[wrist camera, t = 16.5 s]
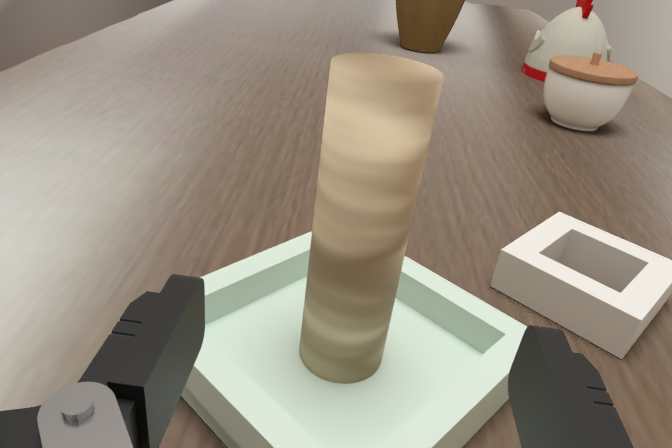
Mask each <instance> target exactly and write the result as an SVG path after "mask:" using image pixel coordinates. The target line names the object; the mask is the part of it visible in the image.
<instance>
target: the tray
mask: <svg viewBox="0 0 672 448" xmlns="http://www.w3.org/2000/svg"><path fill="white" fill-rule="evenodd" d="M311 237H312V231H311V232H309V233H307V234H304V235H302V236H299V237H297V238H294V239H292V240H290V241H287V242H285V243H282V244H280V245H277V246H275V247H273V248H270V249H268V250H265V251H263V252H260V253H258V254H256V255H253V256H251V257H248V258H246V259H244V260H241V261H239V262H236V263H234V264H231V265H229V266H227V267H224V268H222V269H219V270H217V271H214V272H212V273H210V274H207V275H205V276H202V277H200V278H203V280H204V286H205V333H204V339H203V343H202V347H201V350H200V352H199V354H198V357H197V359H196V361H195V364H194V366H193V368H192V371H191V373H190V375H189V378H188V380H187V382H186V385H185V387H184V389H183V392H182V394H181V396H182V397H183V398H184V400H185V401H186V402H187V403H188V404H189V405H190V406H191V407H192V408H193V410H194V411H195V412H196V413H197V414H198V415H199V416H200V417H201V418H202V419H203V421H204V422H205V423H206V424H207V425H208V426H209V427H210V428H211V429H212V431H213V432H214V433H215V434H216V435H217V436H218V437H219V438H220V439H221V441H222V442H223V443H224V444H225V445H226V446H227V447H228V448H462V447H463V446H464V445H465V444H466V443H467V442H468V441H469V440H470V439H471V438H472V437H473V436H474V435H475V434H476V432H477V431H478V430H479V429H480V428H481V427H482V426H483V425H484V424H485V423H486V422H487V421H488V420H489V419H490V418H491V417H492V416H493V415H494V414H495V413H496V412H497V411H498V410H499V409H500V408H501V407H502V406H503V405H504V404H505V402H506V401H507V400H508V399H509V395H508V376H509V371H510V368H511V366H512V363H513V360H514V358H515V355H516V352H517V350H518V347H519V345H520V342H521V339H522V337H523V334H524V332H525V330H526V328H527V327H526V326H525V325H523V324H521V323H520V322H518V321H516V320H514V319H513V318H511V317H509V316H507V315H506V314H504V313H502V312H501V311H499V310H497V309H495V308H494V307H492V306H490V305H489V304H487V303H485V302H483V301H482V300H480V299H478V298H476V297H475V296H473V295H471V294H470V293H468V292H466V291H464V290H463V289H461V288H459V287H458V286H456V285H454V284H452V283H451V282H449V281H447V280H446V279H444V278H442V277H440V276H439V275H437V274H435V273H433V272H432V271H430V270H428V269H427V268H425V267H423V266H421V265H420V264H418V263H416V262H415V261H413V260H411V259H409V258H408V257H406V256H404V260H403V265H402V270H401V274H400V279H399V283H398V288H397V292H396V297H395V302H394V306H393V311H392V315H391V320H390V324H389V329H388V334H387V338H386V343H385V347H384V352H383V356H382V361H381V364H380V367H379V369H378V370H377V371H376V373H375V374H373V375H372V376H371V377H369V378H368V379H366V380H363V381H360V382H357V383H349V384H341V383H334V382H330V381H327V380H324V379H322V378H320V377H318V376H316V375H315V374H313V373H312V372H311V371H309V370H308V369H307V368H306V366H305V365H304V364H303V362H302V360H301V357H300V354H299V345H300V336H301V327H302V318H303V309H304V300H305V291H306V282H307V273H308V264H309V255H310V246H311Z"/></svg>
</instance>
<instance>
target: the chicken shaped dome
mask: <svg viewBox="0 0 672 448" xmlns="http://www.w3.org/2000/svg"><path fill="white" fill-rule="evenodd" d="M592 1H593V0H577V4H576V7H575V8H572V9H570V10H567V11H565V12H563V13H562V14H560V15H559V16H557V17H556V18H554V19H553V20H552V21H551V22H550V23H549V24H548V25H547V26H546V27H545V28H544V29H543V30H542V31H541V32H540V31H539V30H537V32H536V34H535V37H534V39H533V41H532V43H531V45H530V47H529V52H528V54H527V56H526V58H525V61H524V65H523V68H522V72H523V73H524V74H526V75H528V76H530V77H532V78H535V79H537V80H540V81H544V82H545V78H546V75H547V71H548V68H549V61H550V59H551V58H552V57H554V56H559V55H570V56H580V57H588V58H592V56H593V53H594V52H600V53H602V56H601V59H600V60H603V61H607V62H609V59H610V53H611V48H612V46H609V44H608V41H607V36H606V33H605V29H604V27H603V25H602V23H601V21H600V19H599V18H598V17H597V15H596V14H595V13H594V12H593V11H592V8H593V5H591V3H592Z"/></svg>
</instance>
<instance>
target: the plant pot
mask: <svg viewBox="0 0 672 448" xmlns="http://www.w3.org/2000/svg"><path fill="white" fill-rule="evenodd" d="M464 1H465V0H396V11H397V21H398V29H399V35H400V41H401V46H402V47H404V48H406V49H409V50H413V51H418V52H426V53H435V52H438V51H439V50H440V48H441V46H442V45H443V43H444V41H445V40H446V38H447V36H448V34H449V33H450V31H451V29H452V27H453V25H454V23H455V21H456V19H457V17H458V15H459V13H460V11H461V8H462V6H463V4H464Z"/></svg>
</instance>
